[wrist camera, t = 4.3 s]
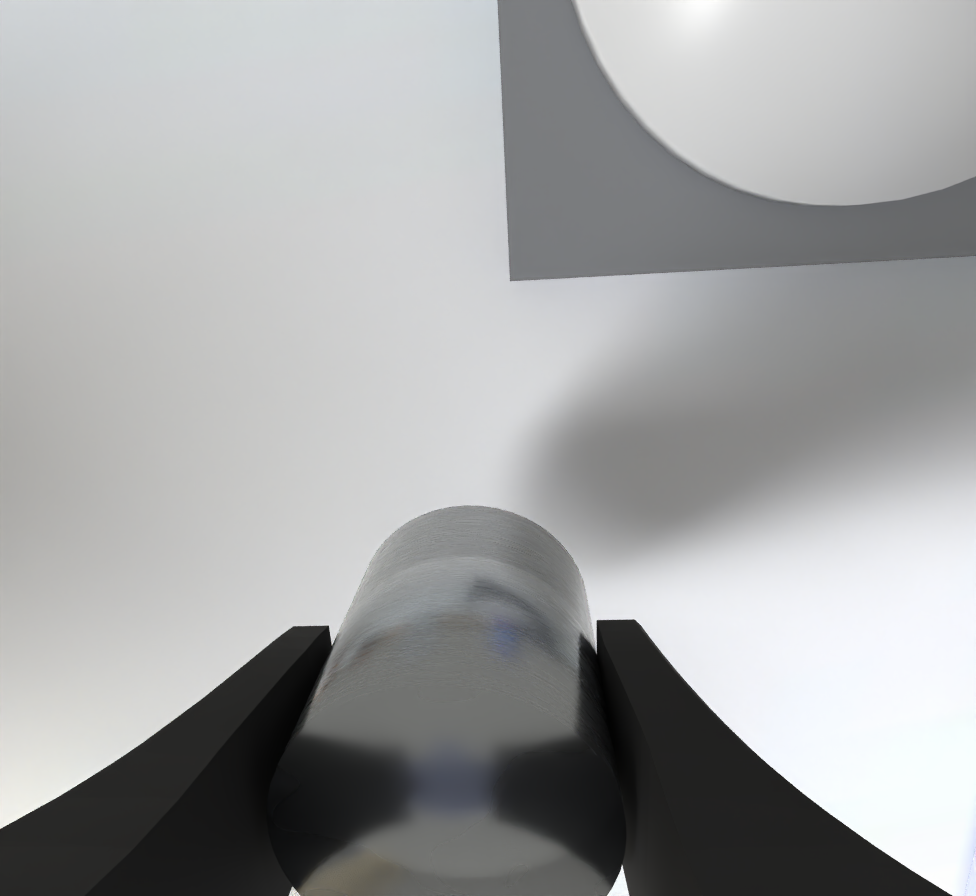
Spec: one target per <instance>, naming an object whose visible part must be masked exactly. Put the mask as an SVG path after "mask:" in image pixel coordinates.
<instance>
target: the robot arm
mask: <svg viewBox="0 0 976 896" xmlns="http://www.w3.org/2000/svg"><path fill="white" fill-rule="evenodd" d="M331 647H332V645H331V638H330V632H329V626H293V627H292V628H291V629H289V630H288V631H286V632H285V633H284V634H282V635H281V636H280V637H278V638H277V639H276V640H275V641H273V642H272V643H271V644H270V645H268V646H267V647H266V648H265V649H263V650H262V651H261V652H260V653H259V654H257V655H256V656H255V657H254V658H252V659H251V660H250V661H249V662H248V663H246V664H245V665H244V666H243V667H241V668H240V669H239V670H238V671H236V672H235V673H234V674H233V675H231V676H230V677H229V678H228V679H226V680H225V681H224V682H223V683H221V684H220V685H219V686H218V687H217V688H215V689H214V690H213V691H212V692H210V693H209V694H208V695H207V696H205V697H204V698H203V699H201V700H200V701H199V702H198V703H196V704H195V705H193V706H192V707H191V708H189V709H188V710H187V711H185V712H184V713H183V714H181V715H180V716H179V717H177V718H176V719H174V720H173V721H172V722H170V723H169V724H168V725H166V726H165V727H164V728H162V729H161V730H160V731H158V732H157V733H156V734H154V735H153V736H151V737H150V738H149V739H147V740H146V741H145V742H143V743H142V744H140V745H139V746H137V747H136V748H135V749H133V750H132V751H130V752H129V753H127V754H126V755H124V756H123V757H121V758H120V759H118V760H117V761H115V762H114V763H112V764H111V765H109V766H108V767H106V768H104V769H103V770H101V771H100V772H98V773H96V774H95V775H93V776H92V777H90V778H88V779H87V780H85V781H84V782H82V783H80V784H79V785H77V786H76V787H74V788H72V789H71V790H69V791H67V792H66V793H64V794H62V795H61V796H59V797H57V798H56V799H54V800H52V801H50V802H48V803H47V804H45V805H43V806H41V807H39V808H38V809H36V810H34V811H32V812H30V813H29V814H27V815H25V816H23V817H21V818H19V819H18V820H16V821H14V822H12V823H10V824H9V825H7V826H5V827H3V828H1V829H0V896H289V893H290V890H291V888H292V885H291V883H290V882H289V880H288V878H287V877H286V875H285V874H284V872H283V871H282V869H281V867H280V865H279V863H278V861H277V858H276V856H275V854H274V852H273V848H272V845H271V842H270V838H269V834H268V826H267V819H266V814H267V798H268V793H269V788H270V784H271V780H272V778H273V775H274V773H275V771H276V768H277V766H278V763H279V761H280V759H281V757H282V755H283V752H284V750H285V748H286V746H287V744H288V741H289V739H290V737H291V735H292V733H293V730H294V728H295V726H296V724H297V722H298V720H299V717H300V715H301V713H302V711H303V709H304V706H305V704H306V702H307V700H308V698H309V695H310V693H311V691H312V689H313V687H314V684H315V682H316V680H317V678H318V676H319V674H320V671H321V669H322V667H323V665H324V663H325V660H326V658H327V656H328V654H329V652H330V649H331ZM597 659H598V664H599V670H600V676H601V682H602V687H603V693H604V699H605V704H606V709H607V715H608V720H609V726H610V732H611V737H612V743H613V749H614V755H615V760H616V766H617V772H618V777H619V783H620V789H621V795H622V800H623V806H624V812H625V818H626V831H627V839H626V849H625V855H624V859H623V863H622V865H623V869H624V874H625V878H626V882H627V887H628V891H629V896H952V895H950V894H949V893H947V892H945V891H944V890H942V889H941V888H939V887H937V886H936V885H934V884H932V883H931V882H929V881H928V880H926V879H924V878H923V877H921V876H920V875H918V874H916V873H915V872H913V871H911V870H910V869H908V868H907V867H905V866H904V865H902V864H901V863H899V862H898V861H896V860H895V859H893V858H892V857H890V856H889V855H887V854H886V853H884V852H883V851H881V850H880V849H878V848H877V847H875V846H874V845H872V844H871V843H870V842H868V841H867V840H865V839H864V838H863V837H861V836H860V835H858V834H857V833H856V832H854V831H853V830H851V829H850V828H849V827H847V826H846V825H844V824H843V823H842V822H840V821H839V820H837V819H836V818H835V817H833V816H832V815H830V814H829V813H828V812H826V811H825V810H824V809H822V808H821V807H820V806H818V805H817V804H816V803H815V802H813V801H812V800H811V799H809V798H808V797H807V796H805V795H804V794H803V793H802V792H800V791H799V790H798V789H797V788H796V787H794V786H793V785H792V784H791V783H790V782H788V781H787V780H786V779H785V778H784V777H782V776H781V775H780V774H779V773H778V772H776V771H775V770H774V769H773V768H772V767H770V766H769V765H768V764H767V763H766V762H765V761H764V760H762V759H761V758H760V757H759V756H758V755H757V754H756V753H755V752H754V751H753V750H752V749H751V748H749V747H748V746H747V745H746V744H745V743H744V742H743V741H742V740H741V739H740V738H739V737H738V736H737V735H736V734H735V733H734V732H733V731H732V730H731V729H730V728H729V727H728V726H727V725H726V724H725V723H724V722H723V721H722V720H721V719H720V718H719V717H718V716H717V715H716V714H715V713H714V712H713V711H712V710H711V709H710V708H709V707H708V706H707V704H706V703H705V702H704V701H703V700H702V699H701V698H700V697H699V696H698V695H697V693H696V692H695V691H694V690H693V689H692V688H691V687H690V686H689V685H688V684H687V682H686V681H685V680H684V679H683V678H682V677H681V676H680V674H679V673H678V672H677V671H676V670H675V668H674V667H673V666H672V665H671V664H670V662H669V661H668V660H667V659H666V658H665V656H664V655H663V654H662V653H661V651H660V650H659V649H658V648H657V646H656V645H655V644H654V642H653V641H652V640H651V638H650V637H649V636H648V634H647V633H646V632H645V630H644V629H643V628H642V626H641V625H640V624H639V623H638V622H637V621H636V620H597ZM964 896H976V849H975V853H974V857H973V861H972V866H971V870H970V874H969V878H968V882H967V887H966V891H965V895H964Z"/></svg>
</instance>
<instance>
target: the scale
mask: <svg viewBox="0 0 976 896" xmlns="http://www.w3.org/2000/svg"><path fill="white" fill-rule="evenodd" d="M498 17H499V40H500V62H501V85H502V107H503V130H504V152H505V175H506V198H507V220H508V243H509V265H510V281H521V280H540V279H558V278H576V277H595V276H613V275H632V274H650V273H668V272H687V271H705V270H724V269H742V268H761V267H779V266H797V265H816V264H834V263H853V262H871V261H889V260H908V259H926V258H945V257H963V256H976V0H498Z"/></svg>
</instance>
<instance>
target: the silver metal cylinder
mask: <svg viewBox="0 0 976 896" xmlns="http://www.w3.org/2000/svg"><path fill="white" fill-rule="evenodd" d="M266 819H267V826H268V834H269V838H270V842H271V845H272V848H273V852H274V854H275V856H276V858H277V861H278V863H279V865H280V867H281V869H282V871H283V872H284V874H285V875H286V877H287V878H288V880H289V882H290V883H291V885H292V886H293V887H294V888H295V889H296V891H297V892H298V893H299V894H300V895H301V896H607V895H608V893H609V892H610V890H611V889H612V887H613V885H614V883H615V881H616V879H617V877H618V874H619V872H620V870H621V866H622V863H623V859H624V855H625V849H626V839H627V831H626V818H625V812H624V806H623V800H622V795H621V789H620V783H619V777H618V772H617V766H616V760H615V755H614V749H613V743H612V737H611V732H610V726H609V720H608V715H607V709H606V704H605V699H604V693H603V687H602V682H601V676H600V670H599V664H598V659H597V652H596V646H595V640H594V635H593V629H592V623H591V617H590V612H589V606H588V600H587V595H586V590H585V586H584V582H583V579H582V577H581V574H580V572H579V569H578V567H577V566H576V564H575V562H574V560H573V559H572V557H571V556H570V554H569V553H568V552H567V550H566V549H565V548H564V547H563V545H562V544H561V543H560V542H559V541H558V540H557V539H555V538H554V537H553V536H552V535H551V534H550V533H549V532H547V531H546V530H545V529H543V528H542V527H541V526H539V525H537V524H535V523H534V522H532V521H530V520H528V519H527V518H524V517H522V516H519V515H517V514H514V513H512V512H508V511H505V510H501V509H498V508H491V507H484V506H457V507H449V508H444V509H439V510H435V511H432V512H429V513H427V514H424V515H421V516H419V517H417V518H415V519H413V520H411V521H409V522H408V523H406V524H405V525H403V526H402V527H400V528H399V529H398V530H396V531H395V532H394V533H393V534H392V535H391V536H390V537H389V538H387V539H386V540H385V542H384V543H383V544H382V545H381V547H380V548H379V549H378V550H377V552H376V554H375V555H374V557H373V559H372V560H371V562H370V564H369V566H368V568H367V571H366V573H365V575H364V577H363V579H362V582H361V584H360V586H359V588H358V590H357V593H356V595H355V597H354V599H353V601H352V603H351V606H350V608H349V610H348V612H347V614H346V617H345V619H344V621H343V623H342V625H341V628H340V630H339V632H338V634H337V636H336V639H335V641H334V643H333V645H332V647H331V649H330V652H329V654H328V656H327V658H326V660H325V663H324V665H323V667H322V669H321V671H320V674H319V676H318V678H317V680H316V682H315V684H314V687H313V689H312V691H311V693H310V695H309V698H308V700H307V702H306V704H305V706H304V709H303V711H302V713H301V715H300V717H299V720H298V722H297V724H296V726H295V728H294V730H293V733H292V735H291V737H290V739H289V741H288V744H287V746H286V748H285V750H284V752H283V755H282V757H281V759H280V761H279V763H278V766H277V768H276V771H275V773H274V775H273V778H272V780H271V784H270V788H269V793H268V798H267V814H266Z"/></svg>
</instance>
